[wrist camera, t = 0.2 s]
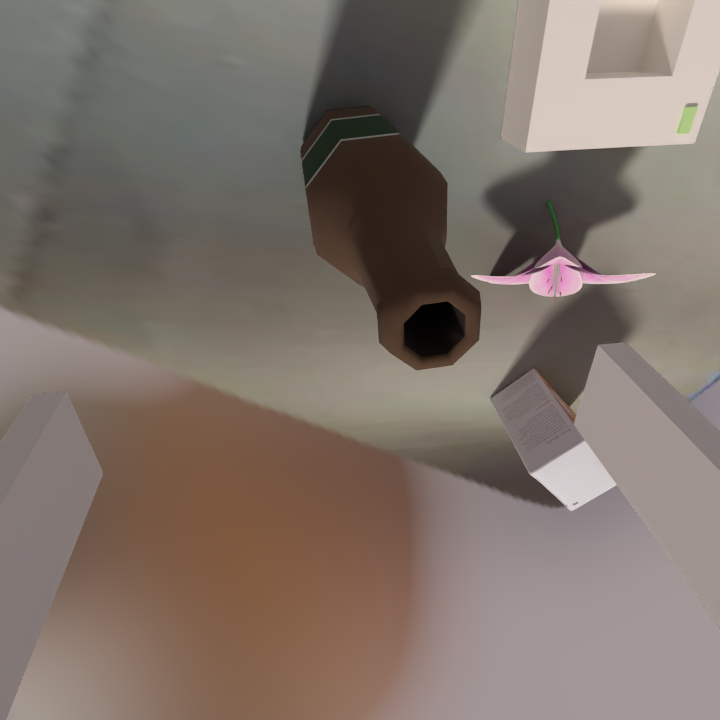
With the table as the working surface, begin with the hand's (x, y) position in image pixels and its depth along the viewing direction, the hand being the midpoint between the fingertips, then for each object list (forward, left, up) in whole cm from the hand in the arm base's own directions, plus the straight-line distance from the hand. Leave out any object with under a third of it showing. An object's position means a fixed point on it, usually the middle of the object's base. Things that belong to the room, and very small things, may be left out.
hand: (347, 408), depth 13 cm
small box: (+25, +21, -28) cm, 43 cm away
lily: (+8, +18, -28) cm, 35 cm away
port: (-8, +20, -28) cm, 35 cm away
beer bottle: (0, +3, -28) cm, 28 cm away
